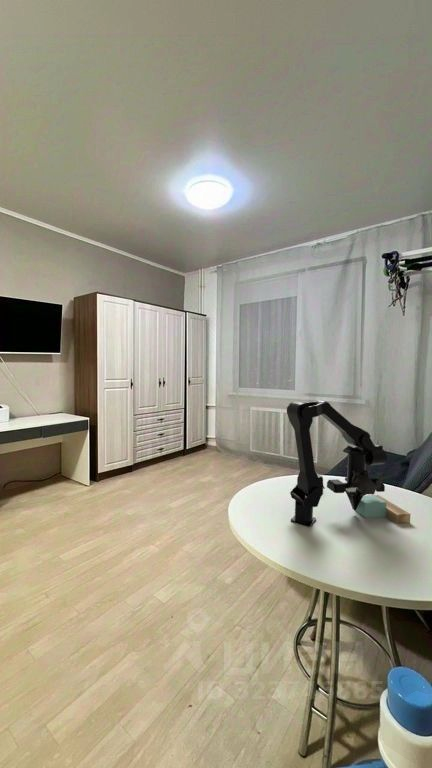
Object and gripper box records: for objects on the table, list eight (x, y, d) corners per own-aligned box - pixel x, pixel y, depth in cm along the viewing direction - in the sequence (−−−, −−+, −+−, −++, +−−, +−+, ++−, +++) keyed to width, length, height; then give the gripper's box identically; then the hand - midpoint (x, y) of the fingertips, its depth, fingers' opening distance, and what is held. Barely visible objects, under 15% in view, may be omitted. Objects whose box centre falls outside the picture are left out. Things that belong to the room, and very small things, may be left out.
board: (396, 523, 105) (396, 514, 105) (366, 503, 121) (366, 495, 121) (410, 522, 106) (410, 513, 106) (378, 502, 122) (378, 495, 122)
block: (364, 517, 109) (365, 503, 109) (354, 510, 115) (354, 496, 115) (385, 516, 110) (386, 502, 110) (374, 508, 116) (375, 495, 116)
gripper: (344, 473, 102) (342, 521, 102) (397, 472, 104) (394, 519, 105) (327, 463, 113) (325, 506, 113) (375, 462, 115) (373, 505, 116)
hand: (354, 509), depth 112 cm, fingers closed
